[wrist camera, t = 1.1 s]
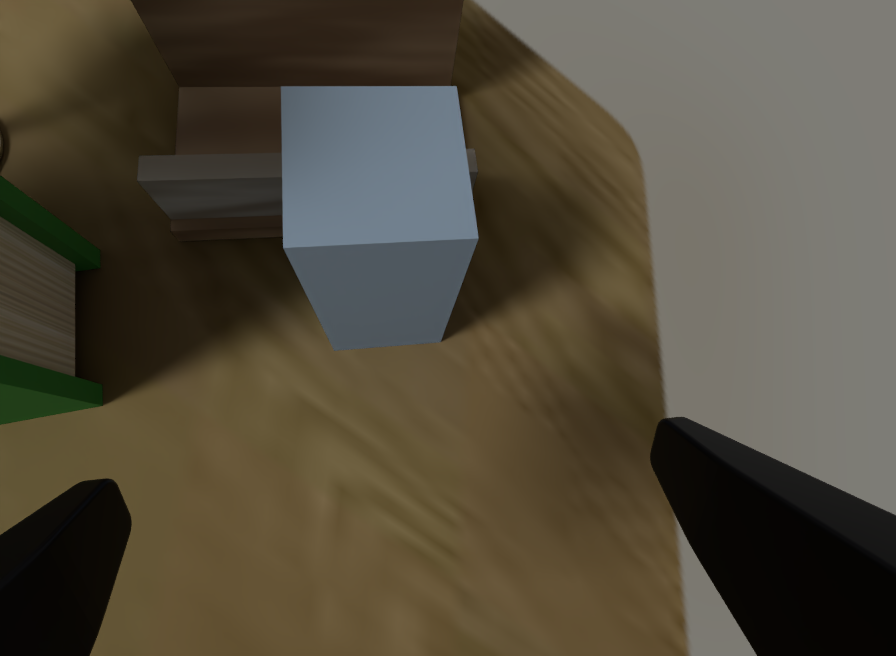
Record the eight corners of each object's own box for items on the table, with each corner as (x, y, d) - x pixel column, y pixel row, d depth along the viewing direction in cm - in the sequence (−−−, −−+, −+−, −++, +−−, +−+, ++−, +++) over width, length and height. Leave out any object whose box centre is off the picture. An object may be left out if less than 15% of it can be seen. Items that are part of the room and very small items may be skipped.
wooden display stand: (466, 228, 24) (542, -25, 12) (180, 241, 22) (-89, -46, 10) (445, 77, 27) (489, -256, 15) (188, 77, 25) (-12, -308, 13)
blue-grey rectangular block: (440, 342, 22) (478, 238, 12) (334, 350, 22) (282, 248, 12) (430, 248, 24) (456, 85, 14) (329, 253, 23) (280, 86, 13)
